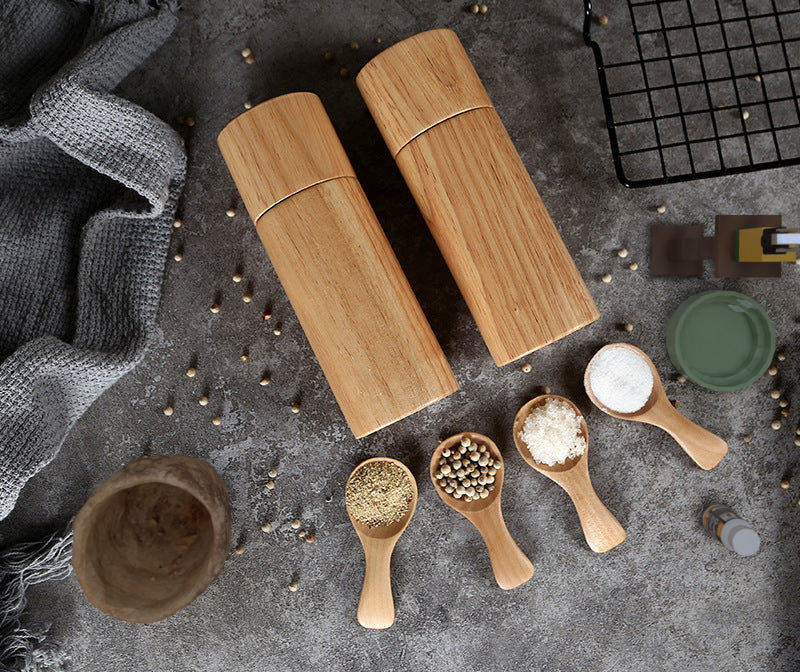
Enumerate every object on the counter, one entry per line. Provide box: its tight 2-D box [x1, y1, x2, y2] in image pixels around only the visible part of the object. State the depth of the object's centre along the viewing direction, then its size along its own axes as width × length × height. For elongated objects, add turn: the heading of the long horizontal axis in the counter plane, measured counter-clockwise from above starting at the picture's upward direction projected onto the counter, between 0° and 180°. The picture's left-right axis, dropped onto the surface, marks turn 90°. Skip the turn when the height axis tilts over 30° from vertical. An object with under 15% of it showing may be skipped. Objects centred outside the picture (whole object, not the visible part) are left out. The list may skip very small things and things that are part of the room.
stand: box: [649, 214, 783, 279], centre depth 104 cm, size 9×9×25 cm
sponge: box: [735, 226, 797, 263], centre depth 88 cm, size 4×4×7 cm
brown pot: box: [71, 453, 232, 625], centre depth 104 cm, size 22×22×25 cm
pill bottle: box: [702, 503, 761, 557], centre depth 112 cm, size 6×6×10 cm
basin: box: [665, 289, 776, 392], centre depth 114 cm, size 18×18×4 cm
